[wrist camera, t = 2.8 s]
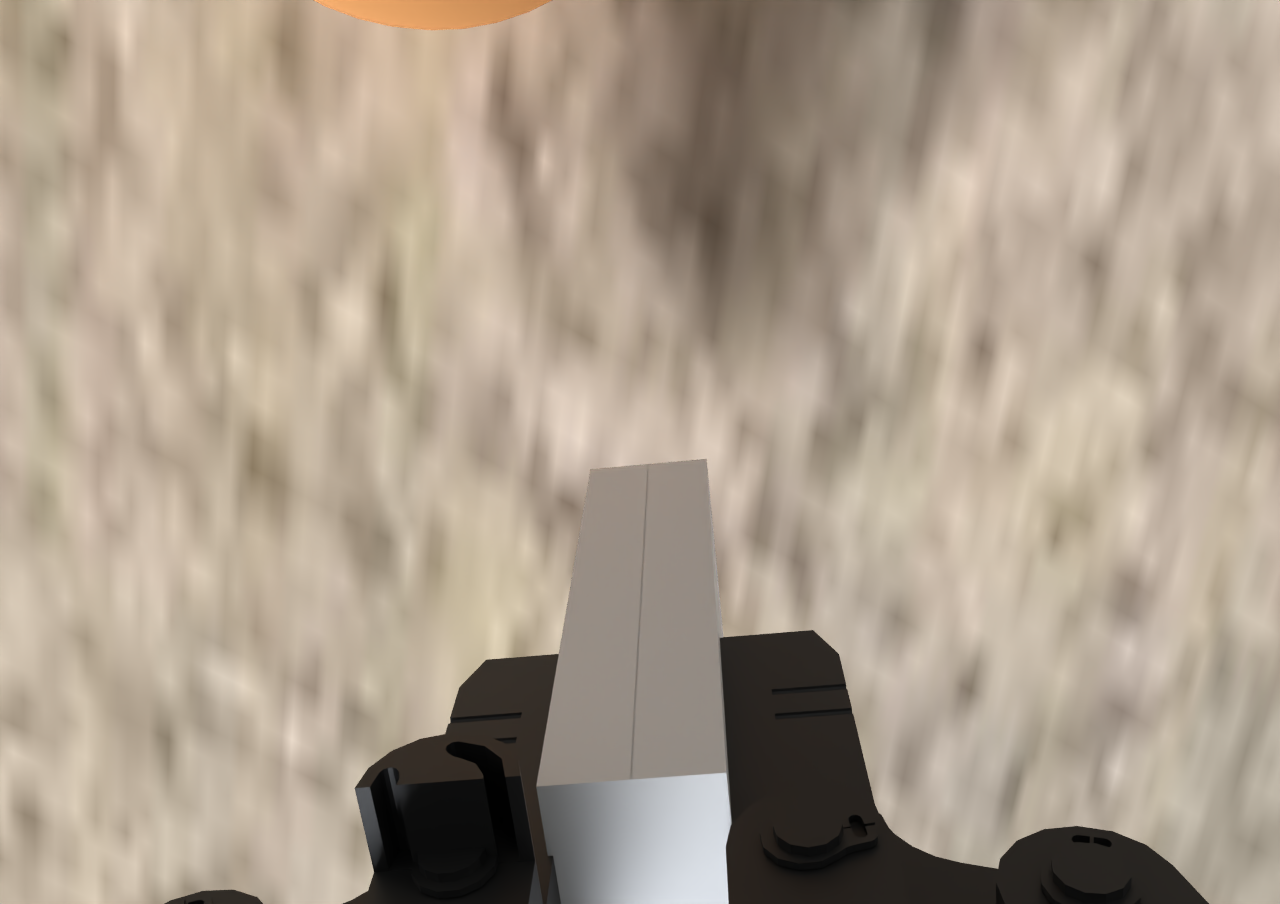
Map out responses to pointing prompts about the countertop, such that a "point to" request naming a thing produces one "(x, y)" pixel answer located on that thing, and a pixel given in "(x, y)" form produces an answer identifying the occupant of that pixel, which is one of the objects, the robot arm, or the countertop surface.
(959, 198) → the countertop surface
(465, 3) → the ball
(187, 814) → the countertop surface
